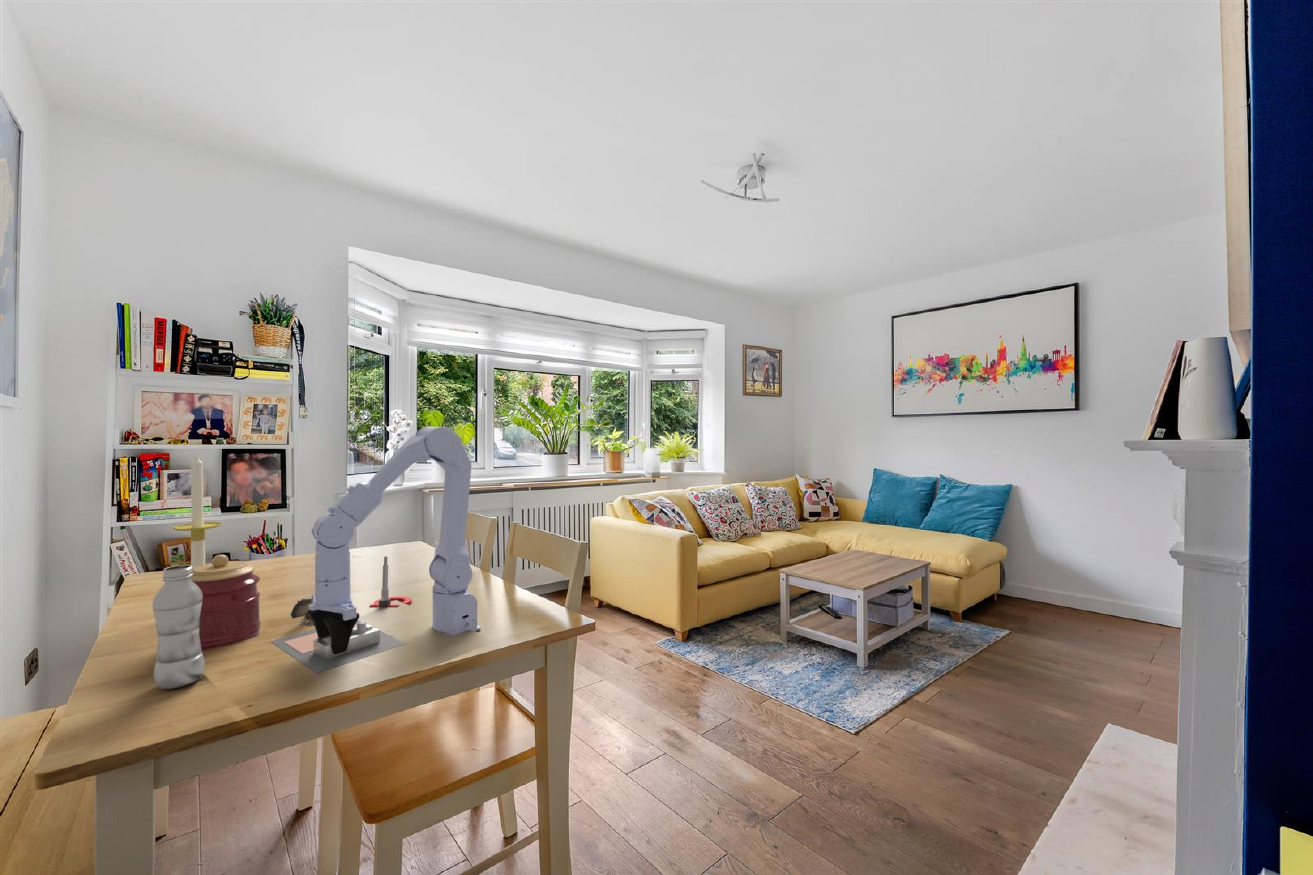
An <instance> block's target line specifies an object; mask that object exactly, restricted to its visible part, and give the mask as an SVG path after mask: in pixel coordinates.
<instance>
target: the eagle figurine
mask: <svg viewBox="0 0 1313 875" xmlns="http://www.w3.org/2000/svg"><path fill="white" fill-rule="evenodd" d="M310 604H312V598H302V599H301V600H297V603H295V604H294V606H293V608H292V610H291V613H290V614H289V615H290V617H291V619H292V620H293V619H297V618H302V617H303V618H302V619H301V621H300V622H299V626H304V625H305V624H306V625H305V626H306V627H315V626H314V623H313V621H312V620H311V618H310V616H309V615H308V613H307V612H308V611H309V610H310V609H308V605H310Z"/></svg>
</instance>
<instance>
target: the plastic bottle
mask: <svg viewBox="0 0 1313 875" xmlns="http://www.w3.org/2000/svg"><path fill="white" fill-rule="evenodd" d="M162 572H163V575H162V582H164V584H163V585H162V586H161V587H160V589H159V590H158V591H157V593H155V595H154V597H153V600H152V602H151V605H152V612H153V616H154V622H155V624H156V634H157V636H156V637H157V649H156V650H157V652H156V661H155V664H154V669H153V670H154V671H153V676H152V677H153V680H154V684H155V686H158V688H159V689H161V690H162V689H163V690H168V689H169V690H170V689H171V690H172V689H175V688H176V689H177V688H181V687H184V686H187V685H190V684H192V683H193V684H194V682H196V681H198V680H199V679H200V678H201V677H202V675H203V673H204V672H205V666H206V661H205V656H204V653H203V651H201V643H200V635H199V626H200V613H201V607H202V600H203V594H202V591H201V589H200V588H199V587H198V586H197V585H196V584H195V583H194V582H193V581H191V577H193V573H192V565H191V564H181V565H180V564H179V565H174V566H168V567H166V568H164V569H163V571H162Z"/></svg>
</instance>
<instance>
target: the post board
mask: <svg viewBox="0 0 1313 875" xmlns="http://www.w3.org/2000/svg"><path fill="white" fill-rule="evenodd" d="M366 624H367V621H360V620H359V619H358V620H357V622H356V624H355V626H354V628H355V627H357V635H358V634H361V633H364V632H366ZM372 628H374V627H373V626H372ZM317 638H318V635H317V632H316V628H314V629H310V630H307V631H303V632H300V633H296V634H293V635H290V636H289V635H288V636H285V637H282V638H278V639H275V640H271V641H270V643H272V644H273V645H274V646H276V647H277V648H278V649H280V650H282V651H283V652H284V653H286V654H288V655H289V656H291V657H292V658H294V659H295V660H296V661H298V662H299V663H301V664H302V665H304V666H305V667H307V668H308V669H310V670H311V671H313V672H315V673H316V674H320V673H323V672H326V671H329V670H331V669H335V668H337V667H340V666H343V665H347V664H350V663H353V662H355V661H360V660H361V659H365V658H367V657H371V656H374V655H376V654H380V653H383V652H385V651H388V650H391V649H394V648H398V647H400V646H403V645H406V644H407V643H406V642H404V641H402V640H400V639H398V638H396V637H393V636H392V635H389V634H387V633H386V632H383V631H381V630H380V642H379V643H376V644H373V645H370V646H367V647H363V648H360V649H357V650H354V651H351V652H348V653H345V654H342V655H338V656H335V657H332V658H329V659H326V660H325V659H323V658H321V657H320V656H318V655H317V654H315V653H314V649H313V640H314V639H317Z"/></svg>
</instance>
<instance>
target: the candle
mask: <svg viewBox="0 0 1313 875" xmlns="http://www.w3.org/2000/svg"><path fill="white" fill-rule="evenodd" d="M190 484H191V485H190V488H191V490H190V491H191V493H190V494H191V495H190V496H191V497H190V498H191V499H190V500H191V504H190V505H191V523H183V524H179V525H176V526H173V530H174V531H181V532H182V531H183V532H184V531H185V532H186V531H187V532H189V531H190V565H192V570H193V569H194V568H196V567H198V566H202V565H206V541H205V540H206V530H208V529H210V530H211V529H214V528H217V527H218V528H219V527H220V526H221V525H222V522H218V521H204V518H205V517H204V512H205V511H204V462H203V461H202V460H201V459H200V456H199V454H198V452H196V454H195V455H194V458H193V460H192V461H191V462H190Z"/></svg>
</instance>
